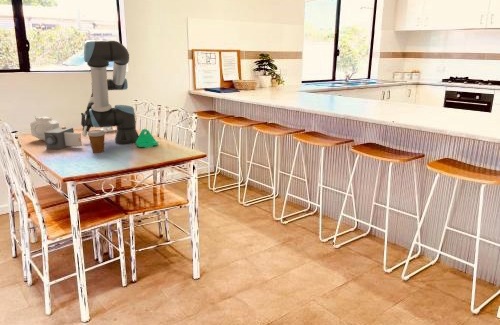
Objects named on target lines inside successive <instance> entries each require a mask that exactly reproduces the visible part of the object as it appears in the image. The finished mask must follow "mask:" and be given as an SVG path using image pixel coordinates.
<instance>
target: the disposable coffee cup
mask: <svg viewBox="0 0 500 325" xmlns="http://www.w3.org/2000/svg"><path fill="white" fill-rule="evenodd" d="M87 135H88V138H89V143H90V145H91V151H92V152H93V153H94V154H97V153H100V154H101V153H103V152H105V135H106V132H104V130H100V129H92V130H89V132H87Z"/></svg>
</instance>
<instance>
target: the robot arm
mask: <svg viewBox="0 0 500 325" xmlns="http://www.w3.org/2000/svg"><path fill="white" fill-rule="evenodd" d="M83 59H84V63H87V66H88V67H89V68H90V76H91V94H90V98H89V100H88V104H87V106H86V110H85V112H84V113H83V112H81V113H80V114H81V121H80V122H81V123H80V125H81V126H82V133H81V136H82V137H85V138H87V135H88V132H89V131H91V128H99V129H100V128H101V129H102V127H112V128H113V127H116V133H115V137H114V142H115V144H118V145H119V144H120V145H121V144H122V145H130V144H136V141H137V139H138V137H139V133H138V131H137V129H136V128H137V126H136V116H135V115H136V114H135V108H134V107H133V106H131V105H125V104H116V105H114V107H112V105H111V104H110V103H109V91H124V90H128V80H127V78H126V72H127V65H128V64H129V62H130V53H129V50H128V49H127V48H126V46H125V45H124V44H122V43H121V42H119V41H116V40H95V39H93V40H86V41H85V42H84V48H83ZM110 62H113V64H112V66H113V67H112V68H113V69H112V78H108V75H107V74H108V73H107V72H108V71H107V68H108V67H109V65H110Z"/></svg>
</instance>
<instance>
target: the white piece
mask: <svg viewBox="0 0 500 325" xmlns="http://www.w3.org/2000/svg"><path fill="white" fill-rule="evenodd" d="M99 130H104V132H105V133H107V132H115V131H117V128H114V127H113V126H112V127H101V129H100V128H99Z"/></svg>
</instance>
